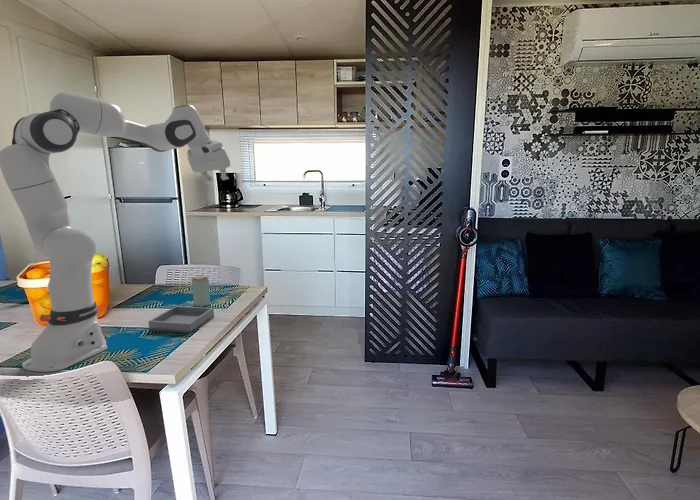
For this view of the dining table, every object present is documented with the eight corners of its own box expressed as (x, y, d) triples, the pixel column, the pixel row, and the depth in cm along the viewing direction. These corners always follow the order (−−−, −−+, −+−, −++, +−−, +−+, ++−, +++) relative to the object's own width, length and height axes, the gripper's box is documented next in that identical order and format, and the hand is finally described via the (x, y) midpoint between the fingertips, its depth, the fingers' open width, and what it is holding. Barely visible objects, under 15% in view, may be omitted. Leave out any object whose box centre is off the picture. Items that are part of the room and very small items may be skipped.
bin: (190, 333, 139) (189, 324, 138) (149, 330, 141) (148, 321, 141) (214, 316, 154) (213, 308, 153) (176, 314, 157) (175, 305, 156)
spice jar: (201, 307, 165) (198, 279, 162) (194, 305, 167) (191, 277, 165) (210, 304, 168) (208, 276, 166) (203, 302, 171) (200, 275, 168)
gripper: (179, 153, 158) (195, 185, 165) (212, 147, 147) (228, 182, 153) (191, 147, 163) (206, 178, 169) (224, 141, 151) (239, 175, 158)
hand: (217, 180), depth 161 cm, fingers open, 8 cm apart
